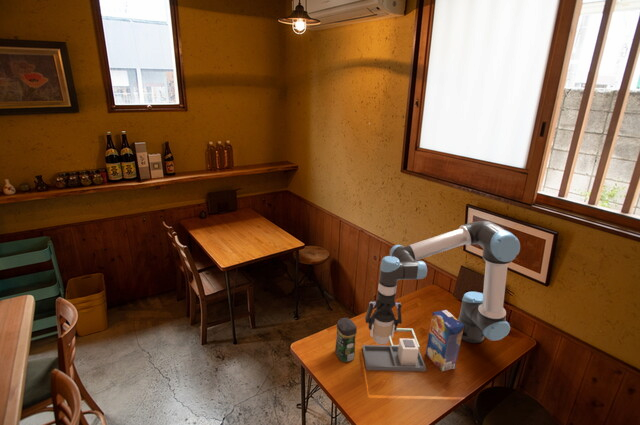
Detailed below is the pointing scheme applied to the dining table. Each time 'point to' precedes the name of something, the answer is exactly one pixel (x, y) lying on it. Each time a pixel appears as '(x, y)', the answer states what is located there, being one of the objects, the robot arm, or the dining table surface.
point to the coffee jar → (345, 339)
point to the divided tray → (388, 359)
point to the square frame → (405, 331)
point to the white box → (407, 351)
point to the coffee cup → (382, 327)
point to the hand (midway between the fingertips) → (381, 335)
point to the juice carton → (444, 340)
